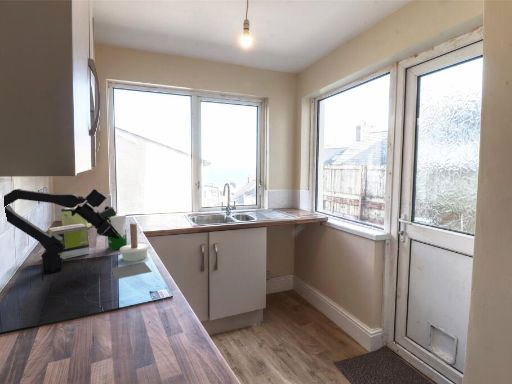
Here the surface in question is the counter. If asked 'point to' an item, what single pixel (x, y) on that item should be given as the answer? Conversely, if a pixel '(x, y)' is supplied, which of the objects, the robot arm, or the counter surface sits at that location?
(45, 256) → the robot arm
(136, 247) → the peg on round base
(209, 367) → the counter surface
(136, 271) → the mat
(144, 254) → the bowl
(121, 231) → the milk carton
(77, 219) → the protein box
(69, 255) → the tea box
